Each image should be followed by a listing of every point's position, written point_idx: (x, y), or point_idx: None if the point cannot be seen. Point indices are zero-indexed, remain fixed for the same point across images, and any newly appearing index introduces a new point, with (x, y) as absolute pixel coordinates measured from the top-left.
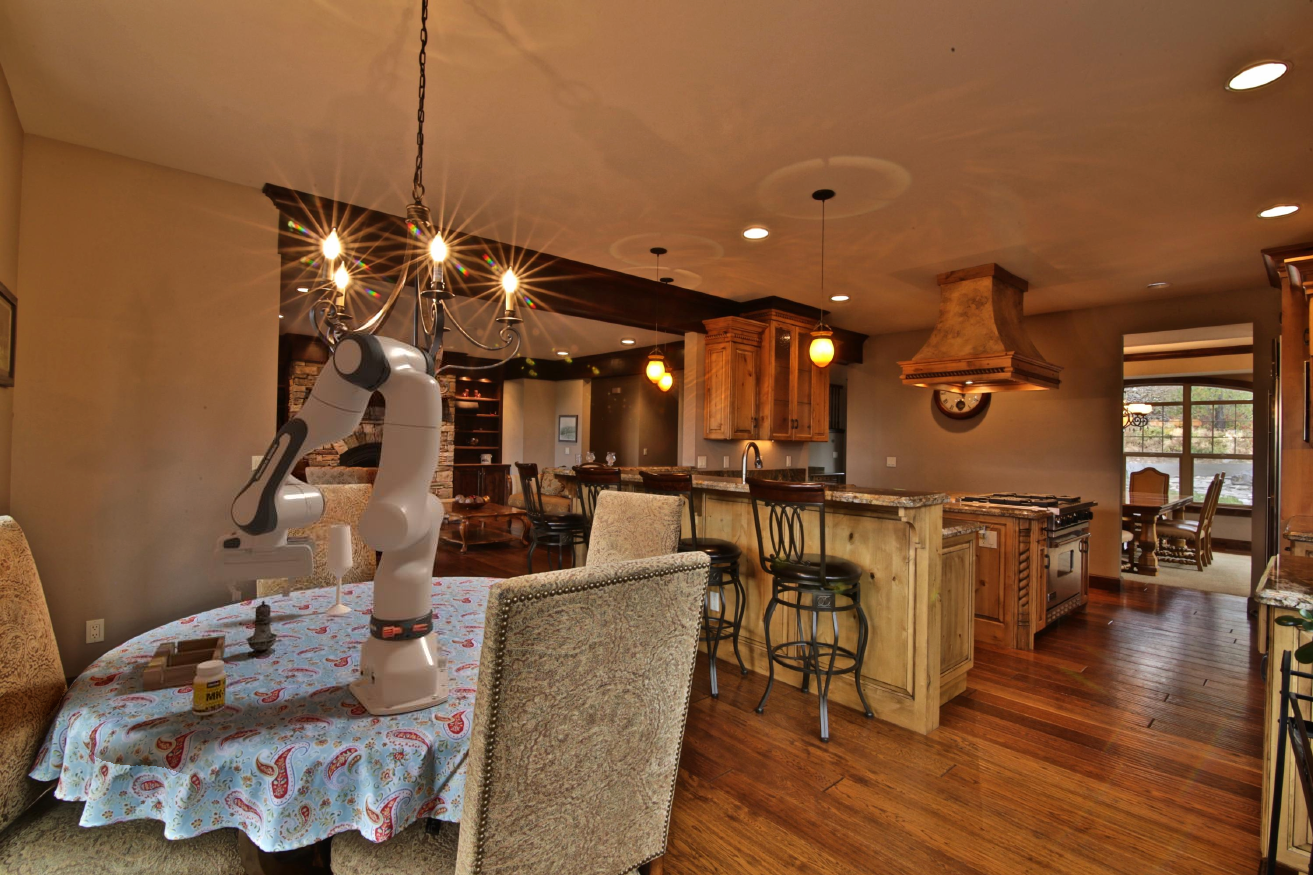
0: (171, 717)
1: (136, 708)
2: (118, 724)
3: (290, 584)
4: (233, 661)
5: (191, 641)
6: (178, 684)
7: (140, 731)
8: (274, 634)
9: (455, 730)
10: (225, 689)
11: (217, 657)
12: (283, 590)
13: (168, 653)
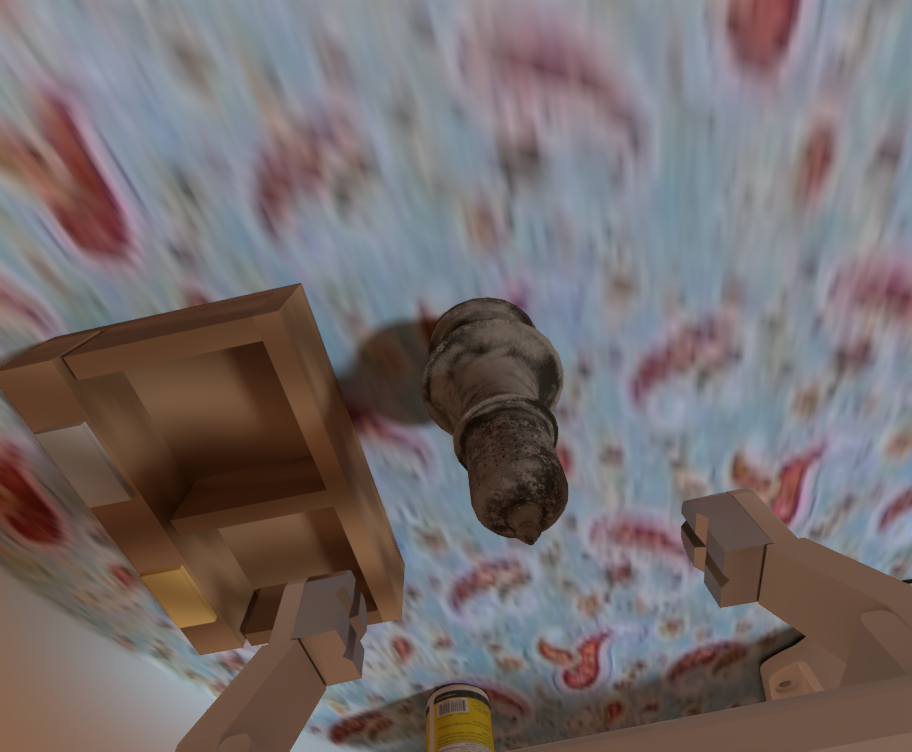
0: (391, 715)
1: None
2: None
3: (830, 651)
4: (396, 421)
5: (139, 364)
6: None
7: (359, 747)
8: (547, 360)
9: None
10: (493, 745)
11: (384, 583)
12: (725, 602)
13: (154, 517)
